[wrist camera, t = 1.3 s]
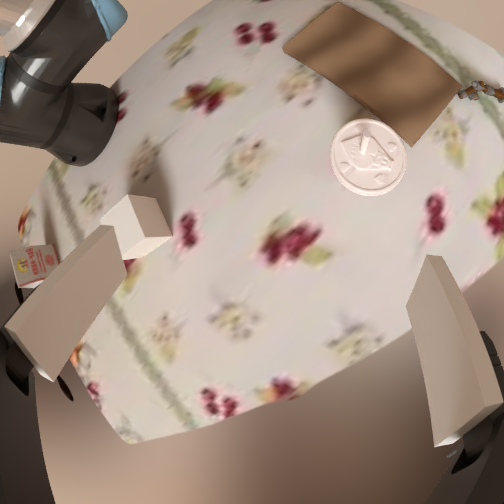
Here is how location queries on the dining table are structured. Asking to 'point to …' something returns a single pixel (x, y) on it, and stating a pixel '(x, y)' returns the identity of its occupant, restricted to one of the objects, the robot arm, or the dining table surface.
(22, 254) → the small printed carton
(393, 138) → the smoothie
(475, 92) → the wooden post with brackets
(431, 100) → the walnut board
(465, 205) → the dining table surface
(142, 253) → the off-white cube
